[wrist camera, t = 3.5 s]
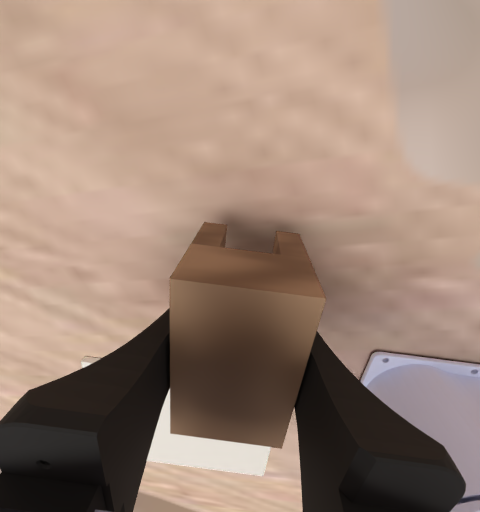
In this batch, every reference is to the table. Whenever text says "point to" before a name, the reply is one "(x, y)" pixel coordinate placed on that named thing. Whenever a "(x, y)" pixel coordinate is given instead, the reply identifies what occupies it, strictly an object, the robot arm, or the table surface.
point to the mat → (201, 447)
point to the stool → (240, 337)
